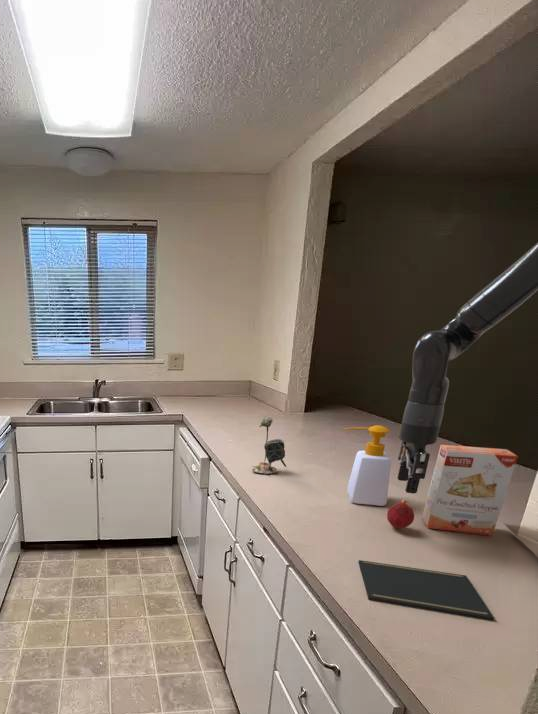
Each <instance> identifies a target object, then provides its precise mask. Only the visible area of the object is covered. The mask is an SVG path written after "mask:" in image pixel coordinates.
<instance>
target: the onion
mask: <svg viewBox="0 0 538 714" xmlns="http://www.w3.org/2000/svg"><path fill="white" fill-rule="evenodd" d="M386 518H387V522H388V523H389V525H391V526H392V528H394V529H395V530H401V529H405V528H407V527H409V526H411V525H412V524H413V522H414V521H415V512H414V510H413V507H411V506H410V505H409V504H408V503H407V500H406V499H401V501H400V502H397V503H395V504H393V505H392V506H390V507H389V508H388V509H387V513H386Z"/></svg>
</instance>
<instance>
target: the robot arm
mask: <svg viewBox="0 0 538 714" xmlns="http://www.w3.org/2000/svg"><path fill="white" fill-rule="evenodd" d="M537 291H538V241H537V242H536V243H534V245H533V246H531V247H530V249H528V251H526V252H525V253H524V254H523V255H522V256H520V257H519V258H518V259H517V260H516V261H515V262H513V263H512V264H511V265H509V266H508V267H507V268H506V269H505V270H503V271H502V272H501V273H500V274H499V275H497V276H496V277H495V278H493V279H492V280H491V281H490V282H489V283H488V284H487V285H485V286H484V287H483V288H482V289H480V290H479V291H478V292H477V293H476V294H475V295H473V296H472V297H471V298H470V299H468V301H466V302H464V304H463V305H462V306H460V308H459V309H458V311H457V313H456V316H455V317H453V318H452V319H451V320H450V321H449V322H447V324H445V325H444V326H443V327H442V328H440V329H437V330H431V331H430V330H429V331H428V332H426V333H424V334H423V335H422V336H420V338H418V340H417V342H416V343H415V346H414V349H413V353H412V363H411V364H412V365H411V366H412V368H411V369H412V370H411V371H412V372H411V373H412V374H411V377H412V381H411V382H412V383H411V386H410V390H409V394H408V399H407V402H406V406H405V408H404V411H403V415H402V420H401V425H400V430H399V435H398V438H399V440H401V444H400V445H401V446H400V450H399V453H398V458H397V460H398V461H399V462H398V463H399V469H398V473H397V480H398V481H403V482H406V486H405V492H406V493H407V494H417V493H418V488H419V486H420V481H421V480H424V479H425V478H426V474H427V471H428V465H429V460H430V457H431V454H430V453H429V452H427V450H426V446H428V445H434V444H436V443H437V441H438V437H439V434H440V430H441V425H442V421H443V417H444V412H445V403H446V401H447V395H448V391H449V387H450V380H449V378H448V377H447V371H448V364H449V362H450V361H452V360H454V359H457V357H459V356H460V355H461V354H463V353H464V352H465V351H466V350H468V349H469V348H470V347H471V346H472V345H473V344H474V343H475V342H476V341H477V340H478V339H480V337H481V336H483V334H484V333H486V332H487V331H489V330H490V329H491V328H493V327H494V326H496V325H497V324H498V323H500V322H501V321H502V320H503V319H505V318H506V317H508V316H509V315H511V313H513V312H514V311H515V310H516V309H518V308H520V306H522V305H523V304H524V303H525V302H526V301H527V300H529V299H530V298H531V297H532V296H533V295H534V294H535V293H536V292H537Z"/></svg>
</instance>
